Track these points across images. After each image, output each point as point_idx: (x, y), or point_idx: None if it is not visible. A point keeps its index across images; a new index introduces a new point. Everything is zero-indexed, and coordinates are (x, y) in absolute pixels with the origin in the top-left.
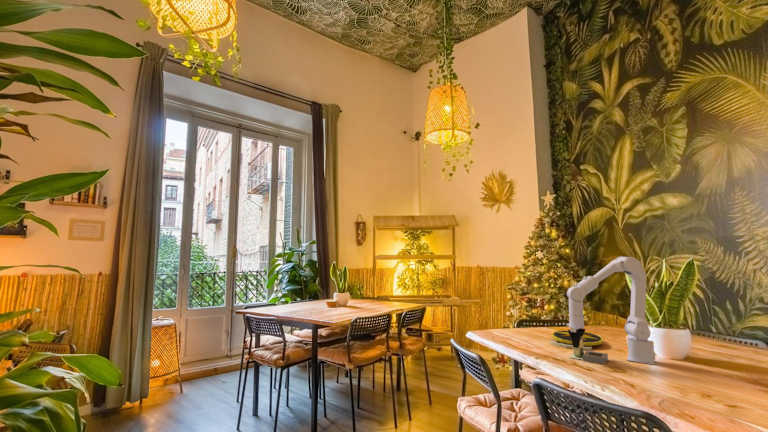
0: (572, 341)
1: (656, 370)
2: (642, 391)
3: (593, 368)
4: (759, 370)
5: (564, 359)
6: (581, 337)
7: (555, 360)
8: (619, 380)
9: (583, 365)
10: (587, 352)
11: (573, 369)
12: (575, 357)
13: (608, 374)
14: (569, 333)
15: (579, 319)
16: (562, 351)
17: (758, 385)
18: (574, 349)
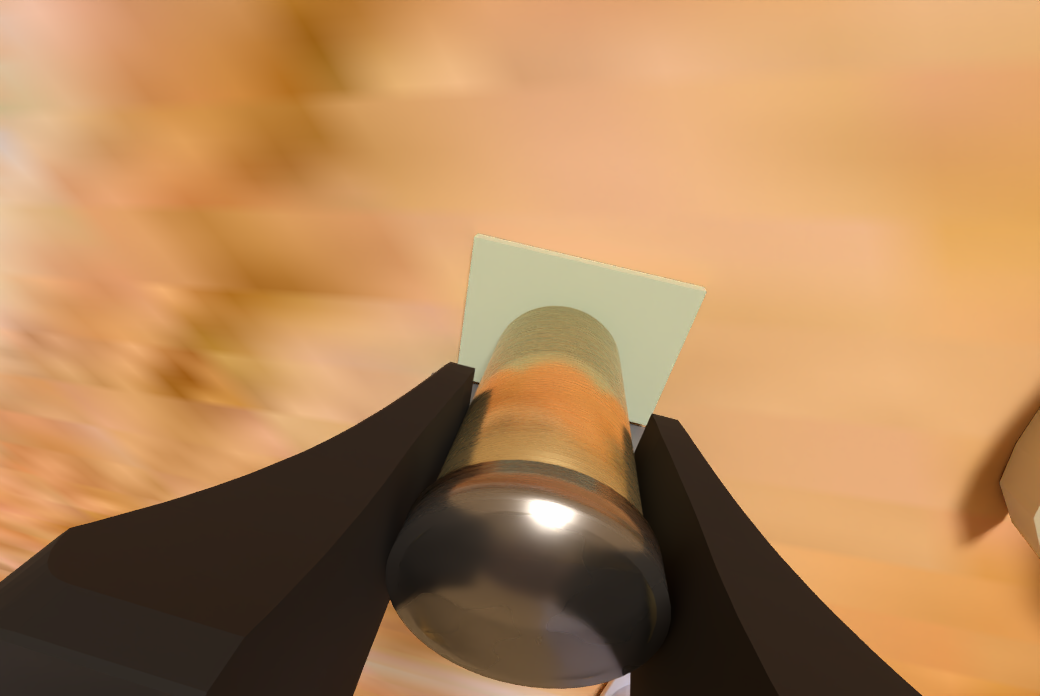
0: (387, 416)
1: (465, 690)
2: (43, 544)
3: (243, 418)
4: None
5: (372, 167)
6: (446, 642)
7: (233, 31)
8: (113, 503)
9: (271, 356)
10: None
11: (66, 259)
12: (498, 312)
13: (178, 478)
14: (112, 536)
15: None
16: (905, 125)
17: None
18: (502, 354)
